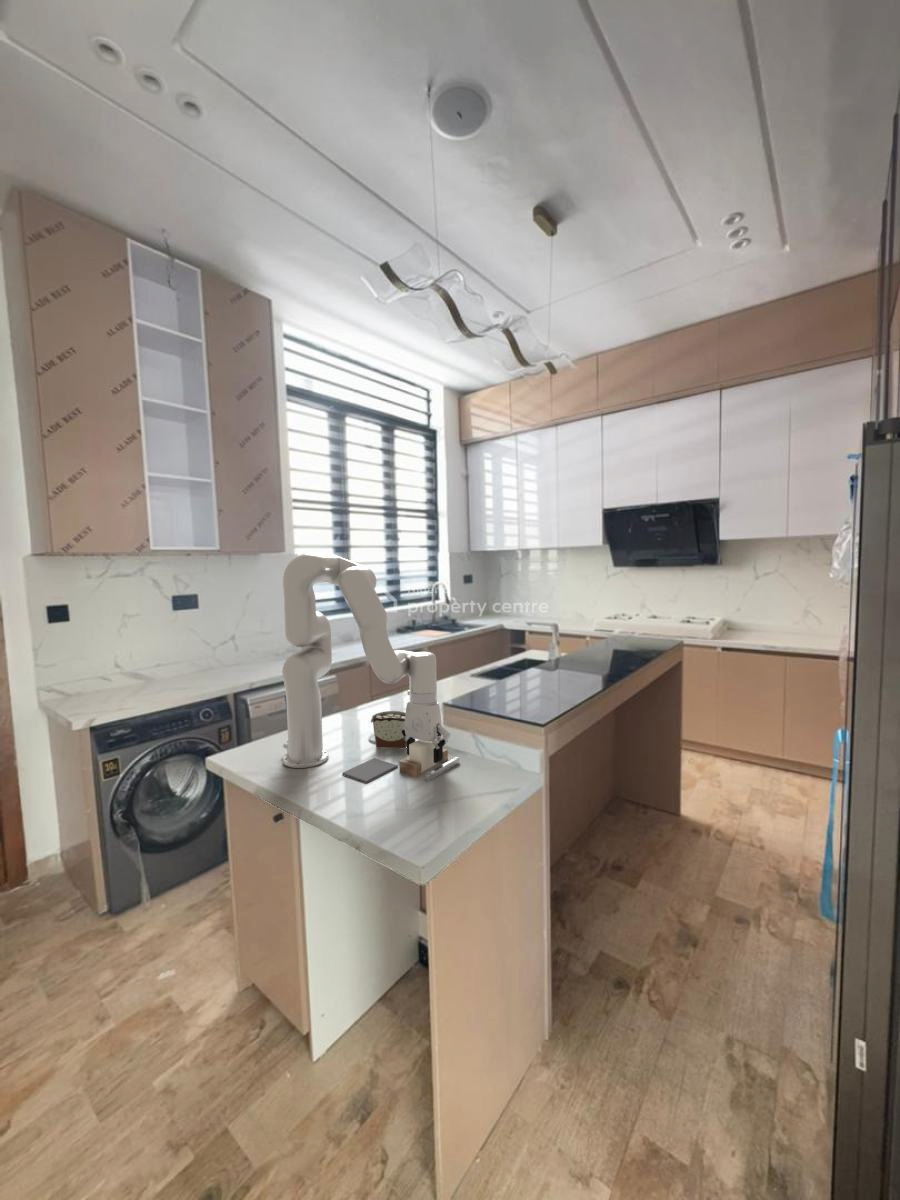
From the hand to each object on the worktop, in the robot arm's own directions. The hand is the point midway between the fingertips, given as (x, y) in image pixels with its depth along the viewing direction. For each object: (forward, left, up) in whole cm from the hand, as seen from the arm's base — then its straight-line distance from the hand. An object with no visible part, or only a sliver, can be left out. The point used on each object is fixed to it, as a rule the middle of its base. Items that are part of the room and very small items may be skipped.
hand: (424, 757), depth 136 cm
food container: (-18, +7, -3) cm, 20 cm away
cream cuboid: (0, 0, -2) cm, 2 cm away
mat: (-10, -11, -2) cm, 15 cm away
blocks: (+2, 0, -2) cm, 3 cm away
